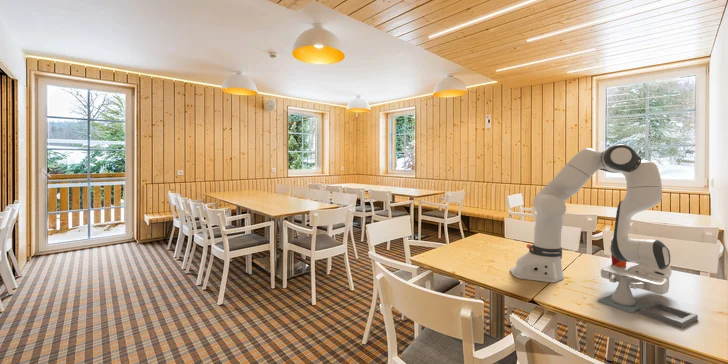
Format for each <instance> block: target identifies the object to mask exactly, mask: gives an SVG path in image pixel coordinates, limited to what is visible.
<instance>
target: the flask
mask: <svg viewBox="0 0 728 364" xmlns="http://www.w3.org/2000/svg"><path fill="white" fill-rule="evenodd" d="M619 278H620V279H619V282H618V284H617V287H616V288H615V290H614V292H613V294H611V295H612V297H611V300H612V301H613V302H615V303H618V304H620V305H626V306H633V305H636V302H637V301H636V299H635V298H634V295H633V293H632V290H631V288H630V285H629V279H630V277H628V276H625V275H619ZM635 301H636V302H635Z"/></svg>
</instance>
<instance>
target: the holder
mask: <svg viewBox="0 0 728 364" xmlns="http://www.w3.org/2000/svg"><path fill="white" fill-rule="evenodd" d="M646 305H647V306H644V307H642V308H640V310H639V314H640V315H643V316H646V317H649V318H652V319H655V320H657V321H660V322H664V323H666V324H669V325H672V326H675V327H677V328H681V329H683V328H684V327H686V326H688V325H690V324H692V323H694V322H696V321H698V318H699V315H698V314H696V313H693V312H690V311H687V310H684V309H680V308H678V307H674V306H671V305H668V304H665V303H662V302H658V301H655V302H652V303H649V304H646ZM657 309H659V310H662V311H665V312H669V313H671V314H674V315H678V316H681V318H680V319H676V318H674V317H671V316H668V315H665V314H662V313H658V312H656V310H657ZM682 317H683V318H682Z"/></svg>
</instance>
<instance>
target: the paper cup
mask: <svg viewBox="0 0 728 364" xmlns="http://www.w3.org/2000/svg"><path fill="white" fill-rule="evenodd" d="M612 240H613V236H612V237H611V238H610V240H609V241H610V243H612ZM611 264H612V266H613V267H616V268H626V267H627V262H626V261H619V260H618V259H616V258H615V257H614V256H613V255H612V254H611Z"/></svg>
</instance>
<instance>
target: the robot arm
mask: <svg viewBox="0 0 728 364" xmlns="http://www.w3.org/2000/svg"><path fill="white" fill-rule="evenodd" d="M599 170H601V171H603V172H608V173H614V174H616V173H621V174H622V175H623V176H624V177H625V182H626V194H625V196H624V198H623V199H622V200H621V201H619V202H618V204H617V209H616V214H615V215H616V216H615V222H614V230H613V236H612V237H613V240H612V243H611V242H610V243H611V244H610V248H609V249H610V254H611V256H612V255H613V256H614V257H615V258H616V259H618V260H619V261H626V263H627V262H628V263H631V262H632V263H633V262H634V263H638V264H636V265H632V266H629V267H628V268H627V269H623V268H621V267H617V266H607V267H603V268H601V269H600V277H602V279H603V278H604V279H607V280H609V282H610V283H612V284H613V283H619V279H620V278H619V275H625V276H628V277H630V279H629V286H630V289H634V290H638V289H639V290H640V289H641V290H644V291H647V292H651V293H653V294H658V295H665V294H667V293H669V290H670V277H671V276H672V268H671V265H670V264H671V253H670V249H669V248H668V247H667V246H666V244H664V243H663V242H662V241H661V240H659V239H648V238H643V239H641V238H631V237H629V235H630V225H631V219H632V217H633V216H635V215H636V214H638V213H641V212H645V211H647V210H650V209H652V208H655V207H656V206H657V205H658V204H660V202H661V201H662V198H663V187H662V179H661V175H660V172H659V168H658V165H657V164H656V163H655V162H653V161H650V160H642V158H641V157H640V156H639V155H638V153H637V152H636V151H635V150H634V149H633V148H632V147H631V146H629V145H628V144H622V143H620V144H614V145H611V146H610V147H608V148H607V149H605V150H603V151H598V150H595V149H593V148H590V147H589V148H588V147H587V148H583V149H581V150H579V152H577V153H575V154H574V156H572V157H571V158H570V159H569V160H568V162H566V164H565V165H564V166H563V167H562V168H561V170H560V171H559V172H558V173H557V175H555V177H554V178H552V180H551V181H550V182H548V183H547V184H546V185H545V186H544V187H543V188H542V189H541V190H540V191H539V192H538V193H537V194H536V195H534V196H533V199H532V206H533V208H534V210H535V211H536V218H535V225H534V228H533V231H534V232H533V233H534V234H533V244H532V245H531V243H527V244H526V245H525V246H526V248H527V249H528V252H526V253H525V254H523V255H522V256H520V257H518V258H517V260H516V262H515V266H512V267H511V268H510V273H511V275H513V276H514V277H515V278H517V279H521V280H529V281H536V282H537V281H538V282H547V283H552V284H554V283H557V282H559V281H562V280H564V279H565V276H564V271H563V265H562V258H563V247H562V229H563V225H564V219H565V214H566V212H567V206H566V203H565V202H567V200H569V199H570V198H572V197H573V196H574V195H576V194H577V193H578V192H579V191H580V190H581V189H582V188H583V187H584V185H586V184H587V182H588V181H589V180H590V179H591V178H592V177H593V176H594V174H596V173H597V172H598V171H599Z"/></svg>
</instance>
